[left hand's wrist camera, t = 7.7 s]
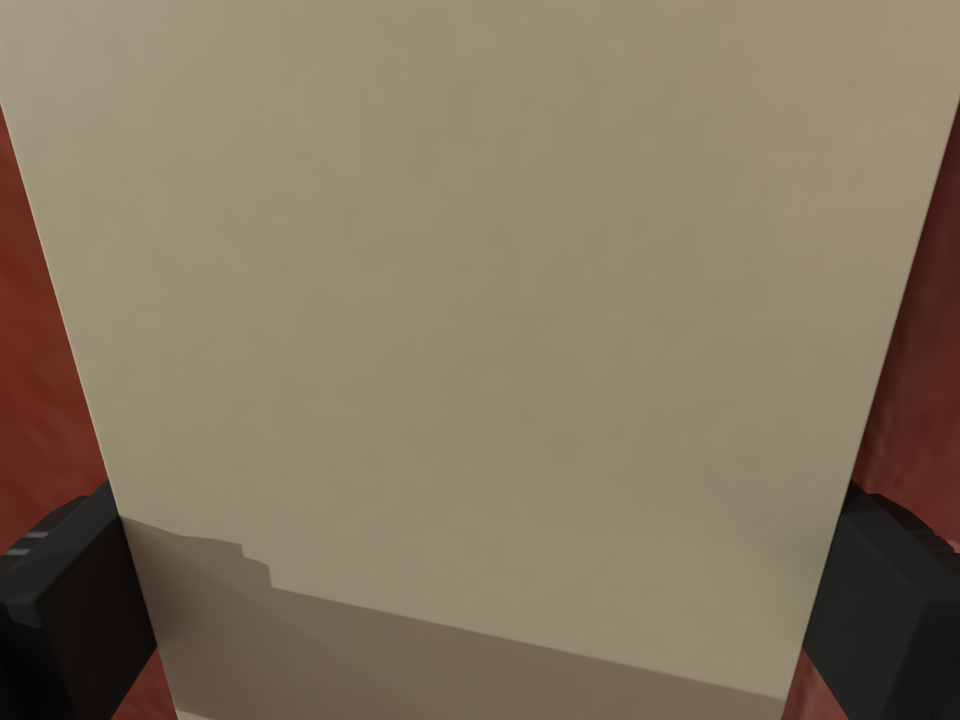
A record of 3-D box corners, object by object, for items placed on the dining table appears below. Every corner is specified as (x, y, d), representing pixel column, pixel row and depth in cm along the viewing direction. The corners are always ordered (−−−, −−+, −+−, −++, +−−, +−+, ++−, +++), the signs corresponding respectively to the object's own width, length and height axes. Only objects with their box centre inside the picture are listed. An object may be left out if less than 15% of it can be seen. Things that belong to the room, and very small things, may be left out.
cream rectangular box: (218, -225, 12) (-314, -976, 4) (740, -225, 12) (1274, -978, 4) (311, 476, 18) (180, 733, 10) (648, 476, 18) (778, 733, 10)
